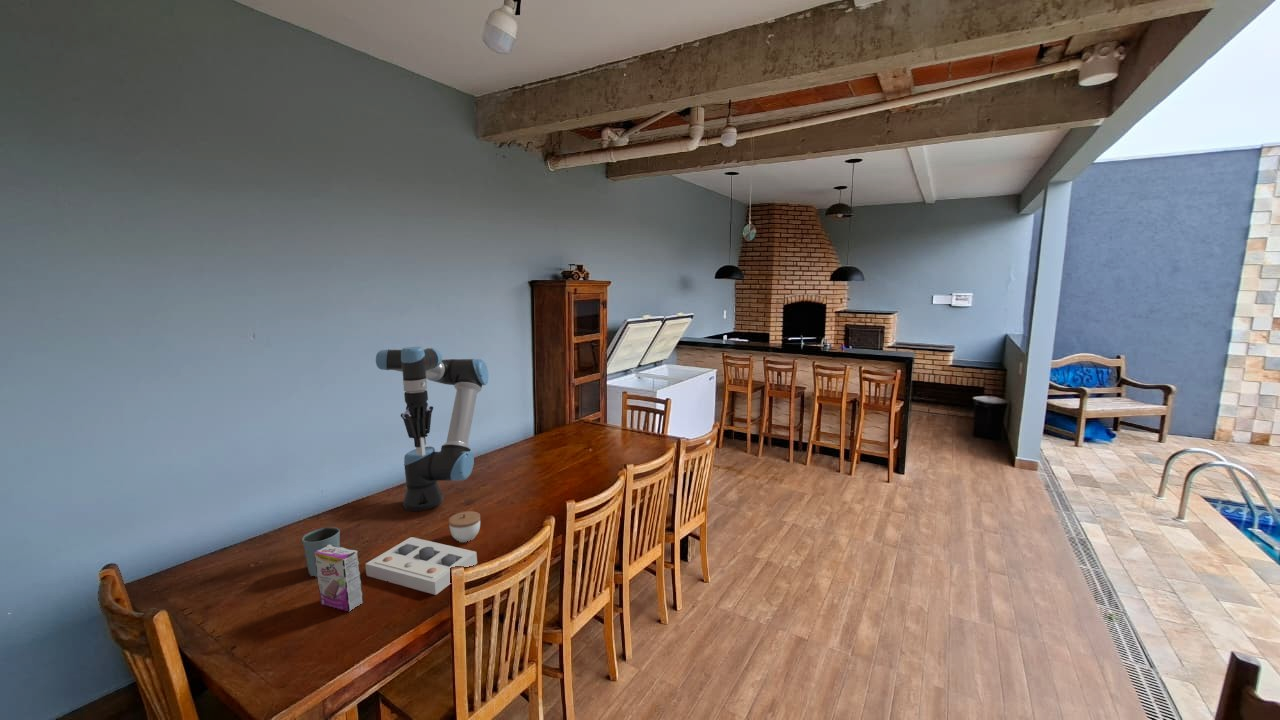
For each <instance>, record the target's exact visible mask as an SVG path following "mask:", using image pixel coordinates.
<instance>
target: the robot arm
mask: <svg viewBox="0 0 1280 720" xmlns="http://www.w3.org/2000/svg"><path fill="white" fill-rule="evenodd" d="M441 353H442V352H441V351H439V350H438V349H437V348H434V347H431V348H430V347H428V348H427V347H426V349H424V348H423V347H422V346H408V347H403V348H402V349H381V350H379V351H378V352H377V353H376V355H375V364H376V367H377V368H378V369H379V370H381V371H383V370H384V371H397V372H401V373H402V380H403V381H402V383H403V384H402V385H403V391H404V393H403V394H404V402H405V404H406V407H405V412H404V413H403V412H402V413H400V418H401V419H402V420H403V424H404V426H405V429H406V433H407V436H408V438H409V439H413V440H414V447H415V449H412V450H410V451H408V452H407V453H405V454H404V457H403V459H404V461H403V463H404V464H403V466H404V475H405V484H406V490H405V494H404V499H403V501H402V503H403V505H402V506H403V509H404V510H405V511H409V512H420V511H421V512H422V511H426V510H431V509H433V508H436V507H439V506H440V505H441V504H442V503H443V500H444V499H443V496H444V495H443V493H442V492H441V489H440V487H439V483H438V481H446V482H447V481H449V482H451V481H452V482H458V481H465V480H466V479H468V478H469V477H470V475H471V474H472V471H473V468H474V464H475V460H474V459H475V456H474V453H473V452H471V448H470V446H469V439H470V435H471V430H472V429H471V428H472V423H473V417H474V412H475V407H476V400H477V395H478V394H479V393H480V392H481V391H482V388H483V387H482V386H486V385H487V384H488V382H489V369H488V366H487V363H486V362H485V361H484V360H483V359H480V358H479V359H477V358H465V359H464V358H462V359H461V358H459V359H458V358H451V359H450V358H449V359H443V356H442V354H441ZM427 380H428V381H431V382H435V383H439V384H442V385H448V386H453V387H454V389H455V390H456V393H455V397H454V402H453V408H452V413H451V418H450V422H449V426H448V431H447V432H448V433H447V437H446V442H445V443H443V444H442V445H441V447H440V451H436V450H435V448H434V447H433V446H426V444H427V442H426V437H428V434H430V432H431V421H432V413H433V410H434V406H433V405H432V406H431V405H429V403H428V402H427V401H428V400H429V396H428V395H429V394H428V390H427V389H428V386H427V385H428V383H427Z"/></svg>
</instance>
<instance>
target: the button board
mask: <svg viewBox="0 0 1280 720" xmlns="http://www.w3.org/2000/svg"><path fill="white" fill-rule="evenodd" d="M405 545H412V546H413V551H412V552H411V553H409V554H407V555H406V556H404V555H400V554H399V553H398V549H399V548H400V547H402V546H405ZM425 547H433V548H434V557H432V558H431V559H429V560H428V561H424V560H420V558H419V550H420V549H422V548H425ZM448 555H454V556H456V562H455V563H454V564H452V565H451V566H450V567H448V566H444V565H441V559H442V558H443V557H445V556H448ZM477 555H478V554H477V551H475V550H469V549H465V548H461V547H457V546H453V545H447V544H443V543H439V542H435V541H430V540H427V539H421V538H418V537H413V536H411V537H409V538H407V539H405V540H403V541H402V542H400V543H399V544H396V545H394V546H393V547H392V548H390V549H389V550H386V551H384V552H383V553H382V554H380V555H378V556H376V557H374V558H373V559H370V561H368V562H366V563H365V574H366V575H365V576H367V577H370V578H374V579H377V580H381V581H385V582H387V581H388V582H387V583H392V584H395V585H399V586H403V587H406V588H410V589H413V590H416V591H420V592H423V593H428V594H431V595H434V596H436V595H438V594H439V593H440V592H442V591H443V590H445V589H446V588H447V587H448V586H449V585H451V584H452V583H450V568H451V567H455V566H464V567H469V566H473V565H474V566H476V565H477V564H478V556H477ZM474 566H473V567H474Z"/></svg>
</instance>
